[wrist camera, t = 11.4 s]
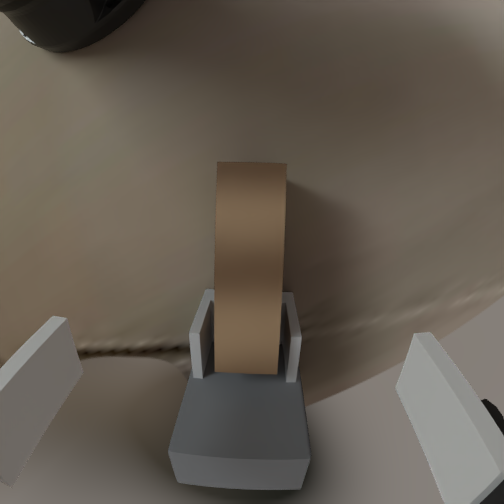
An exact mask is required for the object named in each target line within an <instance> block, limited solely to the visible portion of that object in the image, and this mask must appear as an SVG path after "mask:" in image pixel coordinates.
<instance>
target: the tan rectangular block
mask: <svg viewBox="0 0 504 504" xmlns="http://www.w3.org/2000/svg"><path fill="white" fill-rule="evenodd" d="M286 170H287V164H282V163H254V162H218V163H217V189H216V222H215V276H214V352H215V372H225V373H244V374H277V369H278V355H279V339H280V322H281V304H282V285H283V263H284V238H285V209H286Z"/></svg>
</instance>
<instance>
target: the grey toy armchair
mask: <svg viewBox="0 0 504 504" xmlns="http://www.w3.org/2000/svg"><path fill="white" fill-rule="evenodd" d="M189 338H190V349H191V360H192V370H191V374H190V377H189V380H188V384H187V387H186V390H185V394H184V398H183V400H182V404H181V408H180V411H179V414H178V417H177V421H176V424H175V428H174V431H173V435H172V438H171V442H170V445H169V449H168V453H169V457H170V460H171V463H172V467H173V470H174V473H175V476H176V479H177V482H178V483H184V484H192V485H200V486H209V487H220V488H233V489H255V490H289V489H290V490H291V489H301V486H302V483H303V480H304V477H305V474H306V471H307V467H308V465H309V462H310V459H311V448H310V440H309V433H308V425H307V418H306V412H305V404H304V397H303V390H302V383H301V377H300V370H299V366H298V363H299V356H300V348H301V340H302V336H301V330H300V325H299V320H298V315H297V311H296V306H295V301H294V296H293V292H282V304H281V322H280V339H279V355H278V369H277V374H244V373H225V372H215V352H214V289H206V290H205V293H204V295H203V298H202V300H201V303H200V305H199V308H198V311H197V313H196V316H195V318H194V321H193V324H192V326H191V329H190V331H189Z"/></svg>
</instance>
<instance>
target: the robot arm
mask: <svg viewBox="0 0 504 504" xmlns="http://www.w3.org/2000/svg"><path fill="white" fill-rule="evenodd" d="M144 1H145V0H0V12H3V13H4V14H5V15H6V16H7V17H8V18H9V19H10V20H11V22H12V23H13V24H14V25H15V26H16V27H17V28H18V29H19V30H20V32H21V34H22V35H23V37H24V38H25V39H26V40H27V41H28V42H30V43H31V44H33V45H35V46H37V47H40V48H43V49H46V50H49V51H53V52H68V51H73V50H77V49H80V48H83V47H85V46H88V45H90V44H92V43H94V42H96V41H98V40H100V39H102V38H103V37H105V36H106V35H108V34H109V33H111V32H112V31H114V30H115V29H116V28H118V27H119V26H120V25H122V24H123V23H124V22H125V21H126V20H127V19H129V18H130V17H131V16H132V15H133V14H134V13H135V12H136V11H137V10H138V8H139V7H140V6H141V5H142V4H143V3H144ZM82 374H83V369H82V366H81V363H80V360H79V357H78V354H77V351H76V348H75V344H74V341H73V338H72V334H71V331H70V327H69V323H68V319H67V318H63V317H57V316H52V317H51V318H50V319H49V320H48V321H47V322H46V323H45V324H44V325H43V326H42V327H41V328H40V329H39V330H38V331H37V332H36V333H35V334H34V335H33V336H31V337H30V338H29V339H28V340H27V341H26V342H25V344H24V345H23V346H22V347H21V348H20V349H19V350H18V351H17V352H16V353H15V354H14V355H13V356H12V357H11V358H10V359H9V360H8V361H7V362H6V363H5V364H4V365H3V366H2V367H1V368H0V481H1V482H2V483H4V484H6V485H7V486H9V487H11V488H12V487H13V485H14V483H15V482H16V480H17V478H18V476H19V475H20V473H21V471H22V469H23V468H24V466H25V464H26V462H27V461H28V459H29V457H30V455H31V454H32V452H33V450H34V449H35V447H36V445H37V444H38V442H39V441H40V439H41V437H42V436H43V434H44V432H45V430H46V429H47V428H48V426H49V424H50V423H51V421H52V420H53V418H54V417H55V415H56V413H57V412H58V410H59V409H60V407H61V406H62V404H63V402H64V401H65V400H66V398H67V397H68V395H69V393H70V392H71V390H72V389H73V387H74V386H75V384H76V383H77V382H78V380H79V379H80V377H81V376H82ZM395 389H396V391H397V393H398V395H399V397H400V399H401V402H402V404H403V406H404V408H405V411H406V413H407V415H408V417H409V419H410V421H411V424H412V426H413V428H414V430H415V433H416V435H417V437H418V440H419V442H420V445H421V447H422V449H423V451H424V454H425V456H426V459H427V461H428V464H429V466H430V469H431V471H432V473H433V476H434V478H435V481H436V484H437V486H438V489H439V492H440V494H441V497H442V499H443V502H444V504H504V419H503V416H502V414H501V413H500V412H499V410H498V409H497V407H496V406H494V405H493V404H492V403H491V402H489V401H488V400H487V399H484V400H480V399H479V397H478V396H477V394H476V393H475V392H474V390H473V389H472V387H471V386H470V384H469V383H468V381H467V380H466V379H465V377H464V376H463V375H462V373H461V372H460V370H459V369H458V368H457V366H456V365H455V364H454V362H453V361H452V360H451V358H450V357H449V356H448V354H447V353H446V352H445V350H444V349H443V348H442V346H441V345H440V344H439V342H438V341H437V340H436V339H435V337H434V336H433V335H432V333H431V332H426V333H414V335H413V338H412V342H411V345H410V348H409V351H408V354H407V357H406V360H405V363H404V365H403V368H402V371H401V374H400V377H399V379H398V383H397V384H396V387H395Z"/></svg>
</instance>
